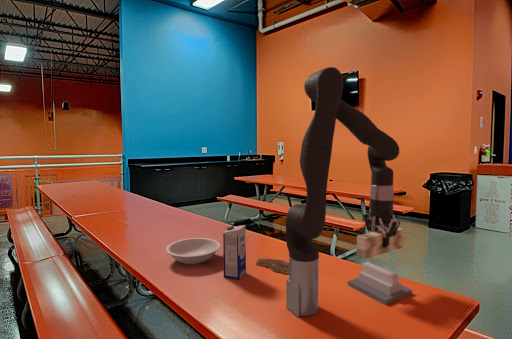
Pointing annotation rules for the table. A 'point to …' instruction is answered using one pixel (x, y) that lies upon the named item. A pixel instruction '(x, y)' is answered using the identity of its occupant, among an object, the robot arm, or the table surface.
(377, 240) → the ash bar
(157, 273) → the table surface
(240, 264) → the milk carton
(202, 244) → the soup bowl
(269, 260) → the wooden fragment
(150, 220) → the table surface
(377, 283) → the ridge stand
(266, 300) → the table surface
